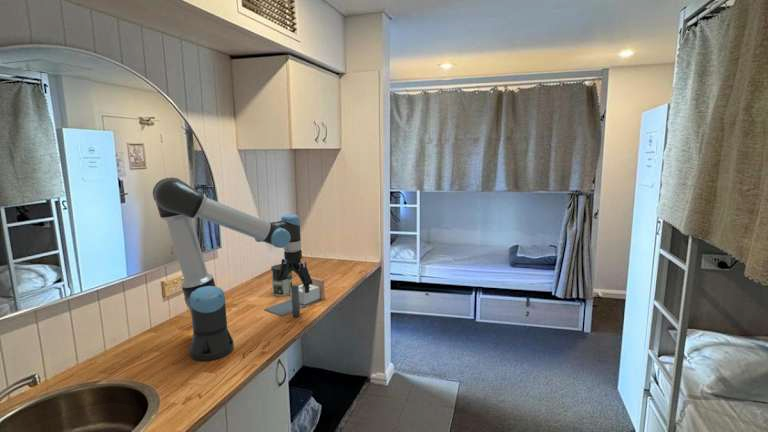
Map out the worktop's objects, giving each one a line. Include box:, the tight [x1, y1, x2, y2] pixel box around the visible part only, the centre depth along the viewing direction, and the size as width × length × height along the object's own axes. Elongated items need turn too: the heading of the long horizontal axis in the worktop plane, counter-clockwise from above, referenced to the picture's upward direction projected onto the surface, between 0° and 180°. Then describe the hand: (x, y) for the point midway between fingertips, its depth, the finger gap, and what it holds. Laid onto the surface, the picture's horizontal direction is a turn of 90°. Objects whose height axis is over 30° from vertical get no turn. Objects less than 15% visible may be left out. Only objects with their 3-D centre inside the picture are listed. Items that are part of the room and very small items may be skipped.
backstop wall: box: [305, 275, 326, 301], centre depth 207 cm, size 2×13×10 cm, turn 52°
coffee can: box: [270, 263, 293, 297], centre depth 214 cm, size 10×10×14 cm
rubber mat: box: [264, 298, 325, 317], centre depth 198 cm, size 26×13×1 cm, turn 142°
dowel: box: [291, 284, 301, 318], centre depth 183 cm, size 3×3×14 cm
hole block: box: [290, 283, 320, 305], centre depth 202 cm, size 10×10×6 cm
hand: (296, 296), depth 183 cm, fingers open, 13 cm apart
